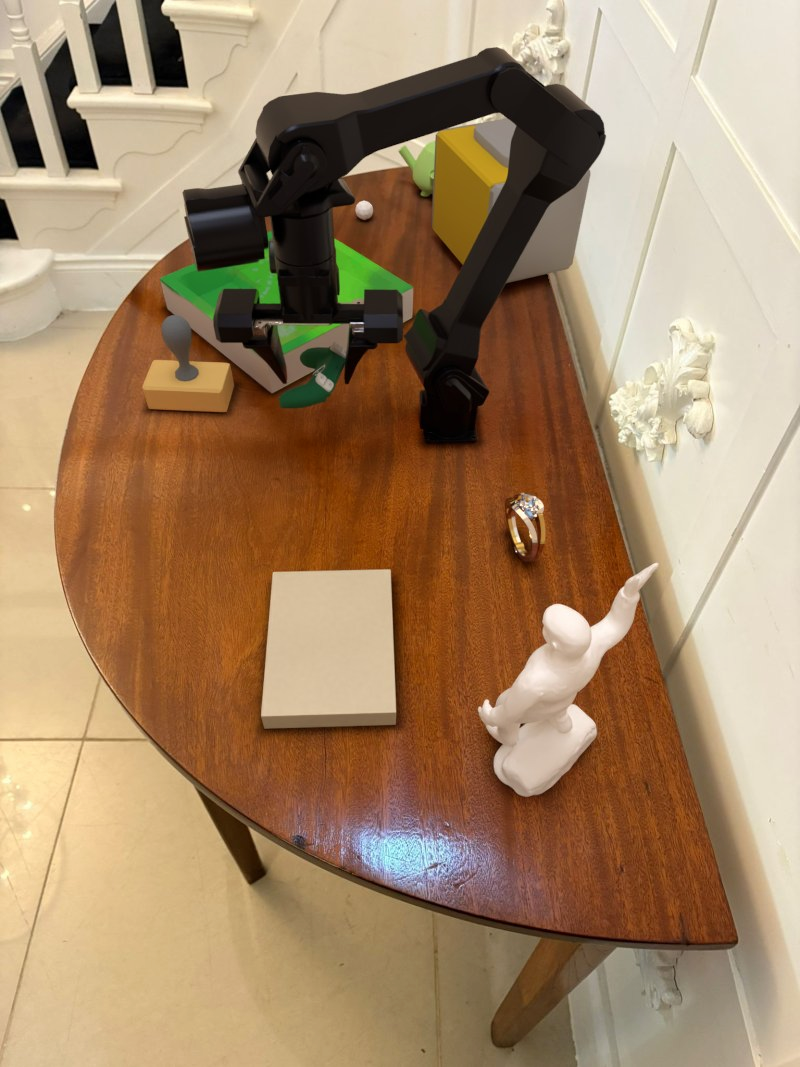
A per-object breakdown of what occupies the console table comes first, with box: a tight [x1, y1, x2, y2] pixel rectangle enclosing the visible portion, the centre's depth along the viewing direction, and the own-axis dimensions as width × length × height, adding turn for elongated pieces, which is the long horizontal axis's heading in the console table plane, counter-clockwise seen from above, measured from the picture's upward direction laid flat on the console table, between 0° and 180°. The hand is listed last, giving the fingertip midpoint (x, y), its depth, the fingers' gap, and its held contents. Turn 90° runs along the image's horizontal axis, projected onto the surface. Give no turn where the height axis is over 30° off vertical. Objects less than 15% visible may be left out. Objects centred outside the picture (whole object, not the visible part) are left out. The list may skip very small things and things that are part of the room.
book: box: [260, 568, 397, 730], centre depth 75 cm, size 12×16×2 cm
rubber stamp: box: [141, 314, 235, 413], centre depth 95 cm, size 10×6×12 cm, turn 87°
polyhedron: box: [354, 200, 374, 221], centre depth 128 cm, size 3×3×3 cm
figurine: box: [477, 562, 659, 798], centre depth 60 cm, size 12×8×25 cm
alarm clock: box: [431, 117, 591, 284], centre depth 115 cm, size 20×16×18 cm
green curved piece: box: [278, 342, 346, 410], centre depth 84 cm, size 9×4×6 cm
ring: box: [504, 492, 547, 562], centre depth 81 cm, size 7×3×8 cm, turn 15°
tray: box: [159, 230, 414, 394], centre depth 110 cm, size 25×25×5 cm
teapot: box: [397, 140, 435, 198], centre depth 132 cm, size 11×12×8 cm
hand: (316, 381), depth 85 cm, fingers closed on green curved piece, 6 cm apart
